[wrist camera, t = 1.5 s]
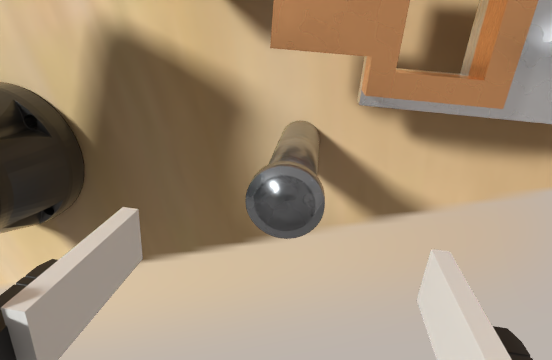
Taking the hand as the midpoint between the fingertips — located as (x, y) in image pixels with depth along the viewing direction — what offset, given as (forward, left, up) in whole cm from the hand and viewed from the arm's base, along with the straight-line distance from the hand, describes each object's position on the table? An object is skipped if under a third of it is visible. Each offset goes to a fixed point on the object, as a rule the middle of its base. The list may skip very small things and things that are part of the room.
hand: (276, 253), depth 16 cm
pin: (0, 0, -19) cm, 19 cm away
